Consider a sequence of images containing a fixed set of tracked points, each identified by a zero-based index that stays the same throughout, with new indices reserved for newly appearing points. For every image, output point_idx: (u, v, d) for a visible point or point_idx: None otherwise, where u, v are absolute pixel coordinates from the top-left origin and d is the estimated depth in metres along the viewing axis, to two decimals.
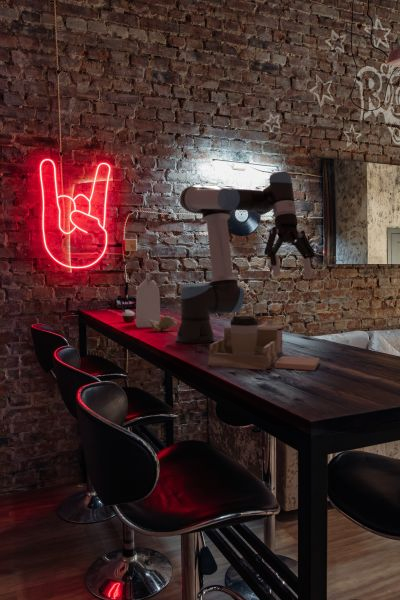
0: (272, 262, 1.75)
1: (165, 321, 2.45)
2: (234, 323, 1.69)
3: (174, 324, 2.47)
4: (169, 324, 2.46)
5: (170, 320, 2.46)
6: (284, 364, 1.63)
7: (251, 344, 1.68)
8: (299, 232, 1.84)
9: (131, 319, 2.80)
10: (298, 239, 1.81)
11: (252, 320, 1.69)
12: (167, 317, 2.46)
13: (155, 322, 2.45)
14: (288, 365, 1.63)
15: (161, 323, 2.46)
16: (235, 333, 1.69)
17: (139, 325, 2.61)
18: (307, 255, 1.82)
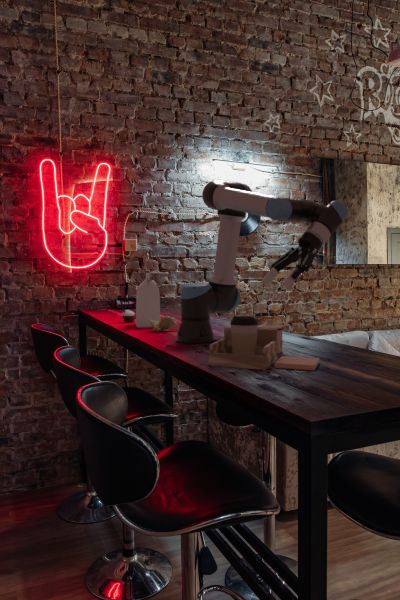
0: (296, 276, 1.68)
1: (165, 321, 2.45)
2: (234, 323, 1.69)
3: (174, 324, 2.47)
4: (169, 324, 2.45)
5: (170, 320, 2.45)
6: (284, 364, 1.63)
7: (251, 344, 1.68)
8: None
9: (131, 319, 2.80)
10: None
11: (252, 320, 1.69)
12: (167, 317, 2.45)
13: (155, 322, 2.45)
14: (288, 365, 1.63)
15: (161, 323, 2.45)
16: (235, 333, 1.69)
17: (139, 325, 2.61)
18: (279, 270, 1.82)
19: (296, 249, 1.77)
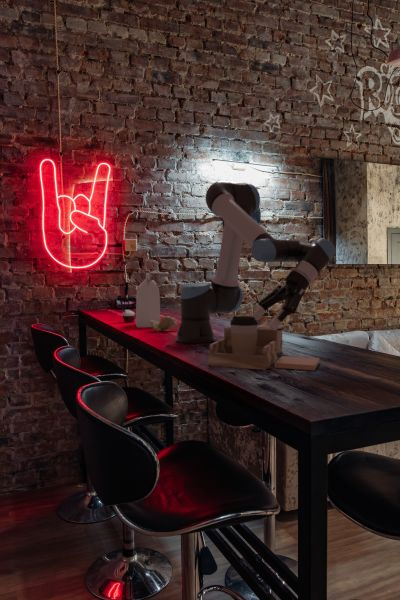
0: (282, 318, 1.66)
1: (165, 321, 2.44)
2: (234, 323, 1.69)
3: (174, 324, 2.46)
4: (169, 324, 2.45)
5: (170, 320, 2.45)
6: (284, 364, 1.63)
7: (251, 344, 1.68)
8: None
9: (131, 319, 2.80)
10: None
11: (252, 320, 1.69)
12: (167, 317, 2.45)
13: (155, 322, 2.44)
14: (288, 365, 1.63)
15: (161, 323, 2.45)
16: (235, 333, 1.69)
17: (139, 325, 2.61)
18: (266, 308, 1.81)
19: (283, 288, 1.76)
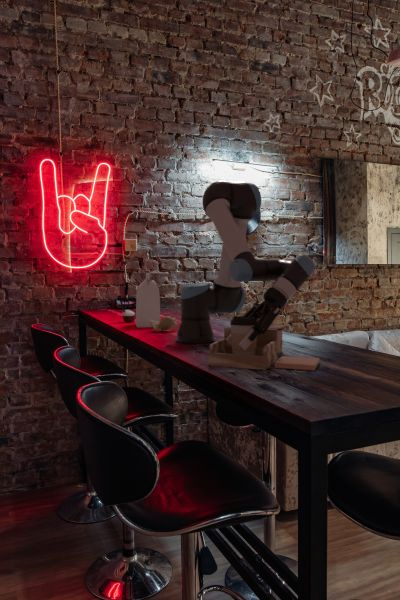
0: (253, 338, 1.66)
1: (165, 321, 2.44)
2: (234, 323, 1.69)
3: (174, 325, 2.45)
4: (168, 324, 2.44)
5: (170, 321, 2.44)
6: (284, 364, 1.63)
7: (251, 344, 1.68)
8: None
9: (131, 319, 2.80)
10: None
11: (252, 320, 1.69)
12: (167, 317, 2.44)
13: (155, 322, 2.44)
14: (288, 365, 1.63)
15: (161, 323, 2.44)
16: (235, 333, 1.69)
17: (139, 325, 2.61)
18: None
19: (261, 304, 1.74)
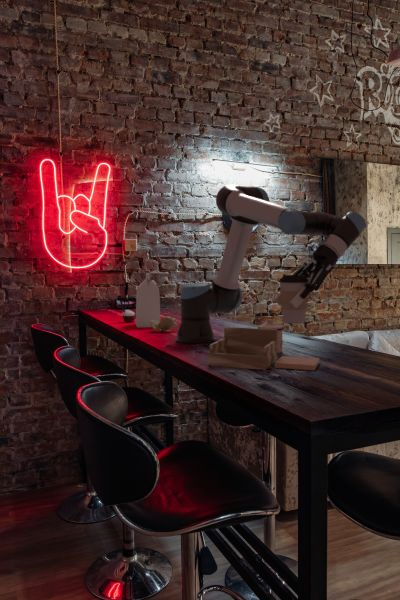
0: (305, 295, 1.60)
1: (164, 322, 2.43)
2: (284, 281, 1.63)
3: (174, 325, 2.44)
4: (168, 324, 2.43)
5: (169, 321, 2.43)
6: (284, 364, 1.63)
7: (302, 302, 1.63)
8: None
9: (131, 319, 2.80)
10: None
11: (303, 277, 1.63)
12: (167, 318, 2.43)
13: (155, 322, 2.43)
14: (288, 365, 1.63)
15: (161, 324, 2.43)
16: (286, 291, 1.63)
17: (139, 325, 2.61)
18: None
19: (311, 263, 1.69)
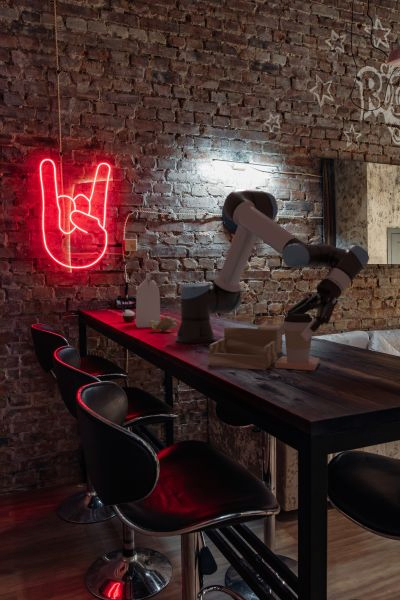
0: (315, 328, 1.59)
1: (164, 322, 2.42)
2: (289, 320, 1.64)
3: (174, 325, 2.42)
4: (167, 325, 2.42)
5: (169, 321, 2.41)
6: (284, 364, 1.63)
7: (306, 341, 1.64)
8: None
9: (131, 319, 2.80)
10: None
11: (307, 317, 1.64)
12: (166, 318, 2.42)
13: (154, 323, 2.43)
14: (288, 365, 1.63)
15: (160, 324, 2.43)
16: (290, 330, 1.64)
17: (139, 325, 2.61)
18: None
19: (314, 297, 1.69)
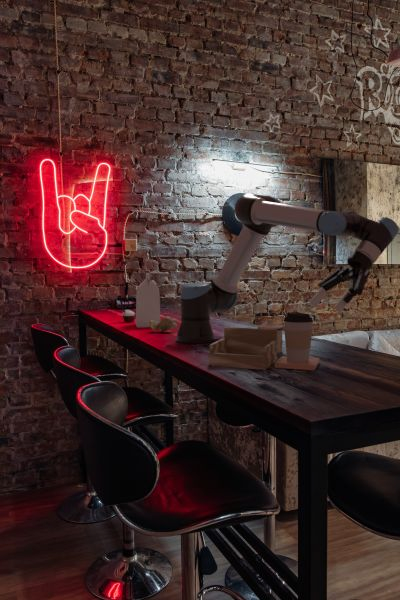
0: (348, 300, 1.64)
1: (163, 322, 2.41)
2: (289, 320, 1.64)
3: (173, 326, 2.42)
4: (167, 325, 2.41)
5: (168, 321, 2.41)
6: (284, 364, 1.63)
7: (306, 341, 1.64)
8: None
9: (131, 319, 2.80)
10: None
11: (307, 317, 1.64)
12: (166, 318, 2.41)
13: (154, 323, 2.43)
14: (288, 365, 1.63)
15: (160, 324, 2.42)
16: (290, 330, 1.64)
17: (139, 325, 2.61)
18: (327, 289, 1.79)
19: (346, 269, 1.74)
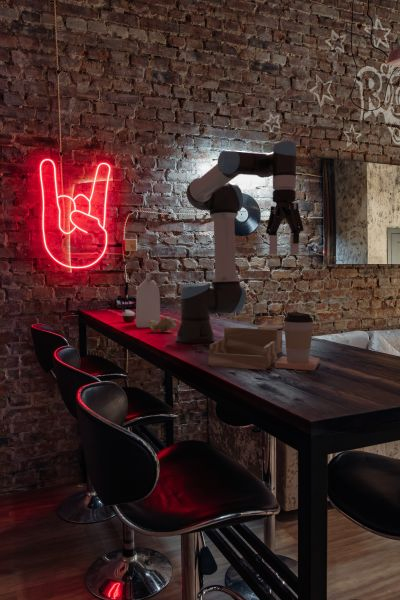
0: (297, 240, 1.71)
1: (163, 322, 2.40)
2: (289, 320, 1.64)
3: (172, 326, 2.40)
4: (166, 325, 2.40)
5: (167, 322, 2.40)
6: (284, 364, 1.63)
7: (306, 341, 1.64)
8: None
9: (131, 319, 2.80)
10: None
11: (308, 317, 1.64)
12: (165, 318, 2.40)
13: (153, 323, 2.42)
14: (288, 365, 1.63)
15: (159, 324, 2.42)
16: (290, 330, 1.64)
17: (139, 325, 2.61)
18: (275, 232, 1.85)
19: (277, 210, 1.78)
